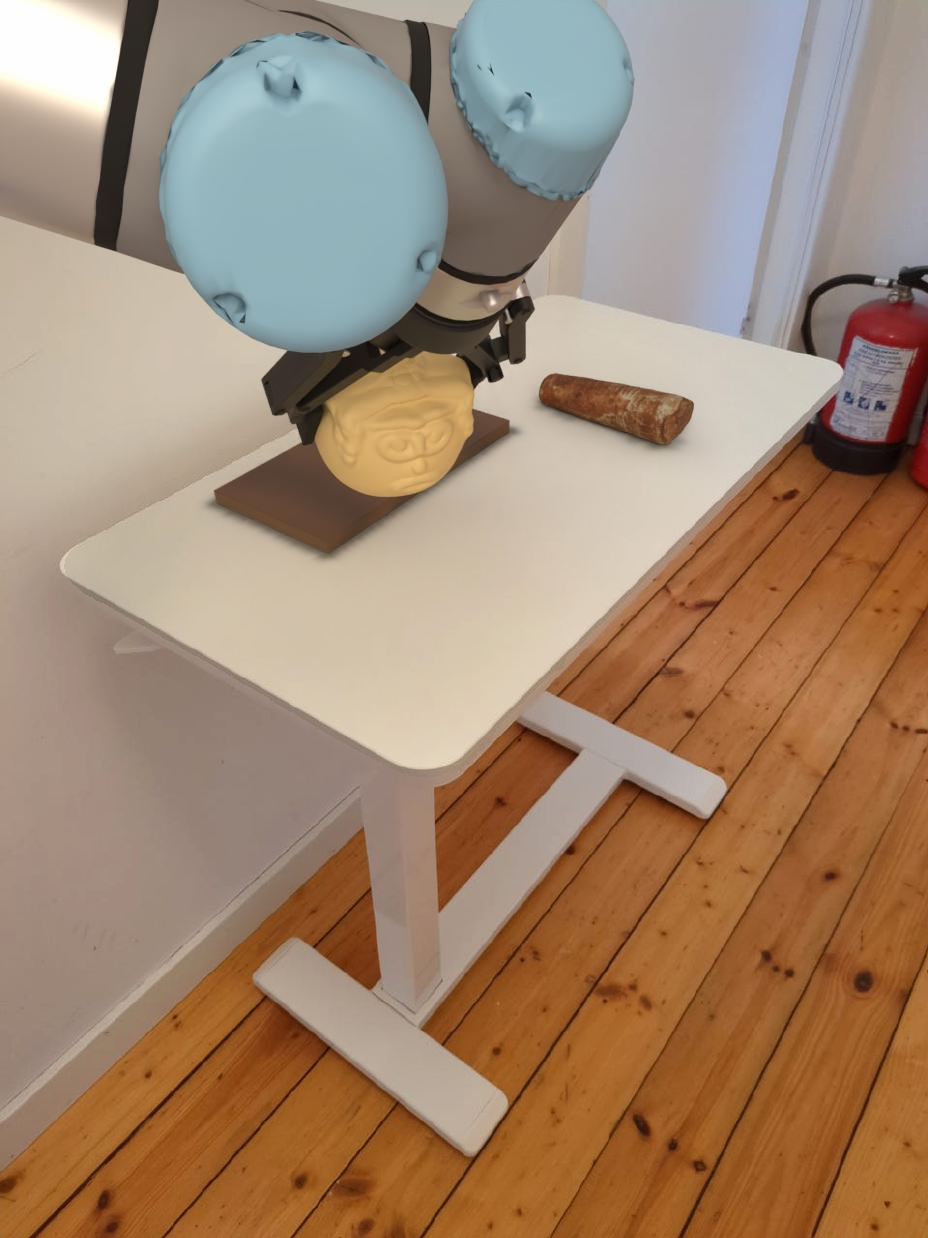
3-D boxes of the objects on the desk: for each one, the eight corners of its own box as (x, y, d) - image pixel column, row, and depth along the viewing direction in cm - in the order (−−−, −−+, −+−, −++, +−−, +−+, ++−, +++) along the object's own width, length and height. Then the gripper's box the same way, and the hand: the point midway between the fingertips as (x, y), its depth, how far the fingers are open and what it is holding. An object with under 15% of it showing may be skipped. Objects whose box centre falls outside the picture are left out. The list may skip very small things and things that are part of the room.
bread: (667, 457, 97) (673, 410, 94) (529, 408, 108) (530, 364, 104) (696, 435, 101) (703, 389, 98) (560, 390, 111) (562, 347, 108)
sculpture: (351, 531, 64) (333, 390, 57) (301, 459, 72) (281, 328, 66) (494, 493, 68) (494, 356, 61) (431, 428, 76) (424, 301, 69)
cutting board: (328, 554, 85) (326, 540, 84) (216, 502, 92) (213, 490, 91) (509, 431, 103) (509, 419, 102) (403, 397, 111) (402, 386, 110)
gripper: (259, 368, 45) (240, 492, 65) (660, 289, 52) (529, 423, 73) (214, 229, 45) (210, 396, 66) (618, 170, 52) (500, 337, 73)
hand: (377, 411), depth 69 cm, fingers closed on sculpture, 11 cm apart
